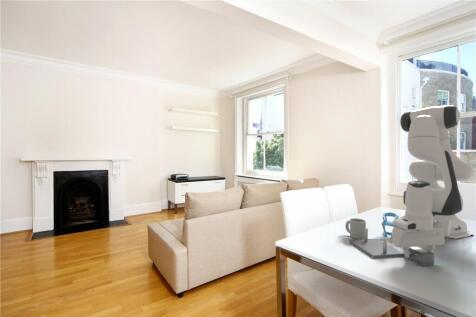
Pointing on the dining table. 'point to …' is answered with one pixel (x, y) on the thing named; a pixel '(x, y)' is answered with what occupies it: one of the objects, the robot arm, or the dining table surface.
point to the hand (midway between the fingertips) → (418, 256)
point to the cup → (356, 228)
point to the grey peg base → (376, 247)
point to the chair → (388, 222)
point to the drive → (421, 256)
